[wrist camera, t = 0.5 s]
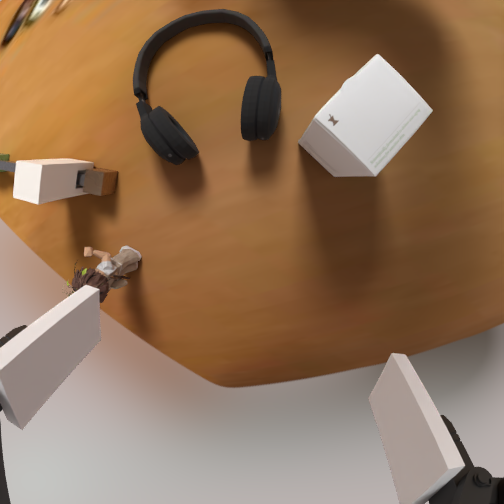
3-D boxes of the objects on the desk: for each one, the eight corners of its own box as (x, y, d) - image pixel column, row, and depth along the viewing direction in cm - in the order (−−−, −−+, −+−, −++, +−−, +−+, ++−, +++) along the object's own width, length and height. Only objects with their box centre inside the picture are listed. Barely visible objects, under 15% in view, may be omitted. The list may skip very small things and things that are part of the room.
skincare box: (333, 178, 35) (373, 184, 20) (293, 140, 34) (307, 118, 19) (377, 132, 33) (438, 112, 18) (338, 94, 32) (378, 49, 17)
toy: (119, 229, 39) (51, 260, 24) (151, 246, 39) (93, 287, 25) (107, 267, 40) (45, 310, 26) (138, 284, 41) (83, 336, 26)
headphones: (135, 168, 29) (119, 29, 27) (162, 176, 36) (143, 53, 34) (297, 121, 26) (249, -16, 25) (295, 140, 34) (256, 16, 32)
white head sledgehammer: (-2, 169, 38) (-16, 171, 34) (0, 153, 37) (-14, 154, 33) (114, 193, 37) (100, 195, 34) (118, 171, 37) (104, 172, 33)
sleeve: (64, 187, 37) (13, 197, 27) (68, 158, 36) (16, 160, 25) (89, 193, 37) (38, 204, 27) (94, 162, 36) (42, 164, 25)
